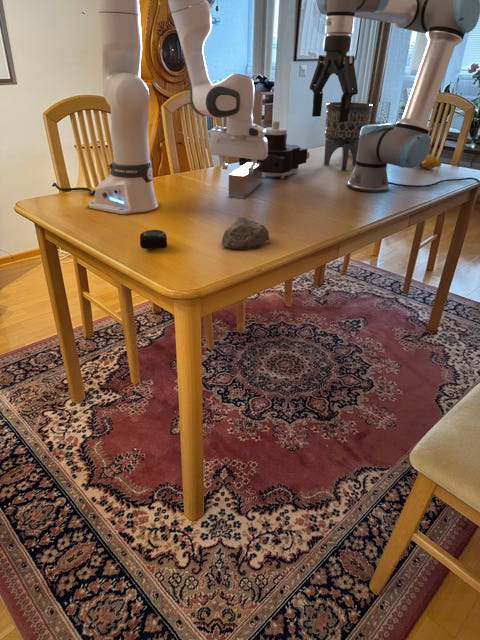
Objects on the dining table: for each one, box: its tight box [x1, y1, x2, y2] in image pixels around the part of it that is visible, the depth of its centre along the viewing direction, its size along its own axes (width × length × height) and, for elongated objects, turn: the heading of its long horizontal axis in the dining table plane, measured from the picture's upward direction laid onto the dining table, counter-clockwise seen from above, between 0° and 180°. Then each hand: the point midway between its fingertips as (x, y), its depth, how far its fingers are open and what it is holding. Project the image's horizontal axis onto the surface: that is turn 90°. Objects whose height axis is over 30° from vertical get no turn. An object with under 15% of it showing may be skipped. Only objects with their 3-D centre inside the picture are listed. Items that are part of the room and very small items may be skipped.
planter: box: [323, 101, 374, 172], centre depth 204 cm, size 20×20×26 cm
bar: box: [228, 162, 263, 200], centre depth 169 cm, size 24×6×8 cm, turn 163°
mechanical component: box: [238, 120, 311, 179], centre depth 191 cm, size 22×21×30 cm
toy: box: [418, 154, 442, 170], centre depth 212 cm, size 11×6×15 cm
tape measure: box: [139, 229, 168, 250], centre depth 117 cm, size 7×7×4 cm
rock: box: [221, 216, 270, 250], centre depth 119 cm, size 13×9×6 cm, turn 131°
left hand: (237, 170), depth 159 cm, fingers open, 8 cm apart
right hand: (329, 119), depth 136 cm, fingers open, 13 cm apart
